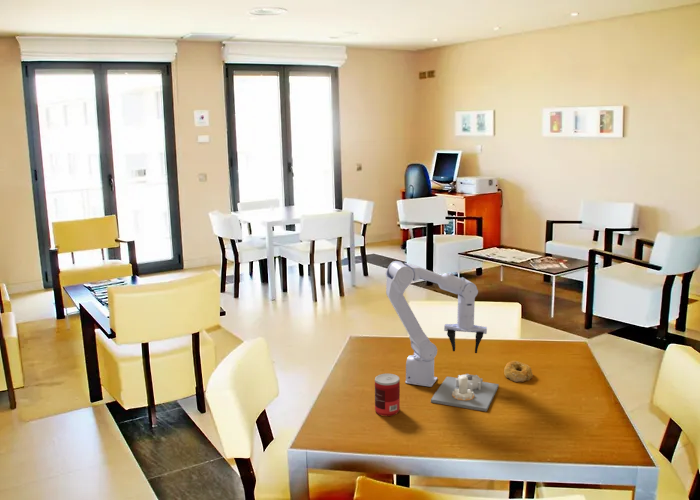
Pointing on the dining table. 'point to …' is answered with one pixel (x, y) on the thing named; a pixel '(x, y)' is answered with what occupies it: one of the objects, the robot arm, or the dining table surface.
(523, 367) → the bagel
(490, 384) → the plate
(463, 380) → the planet gear
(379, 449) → the dining table surface
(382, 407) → the canned food
